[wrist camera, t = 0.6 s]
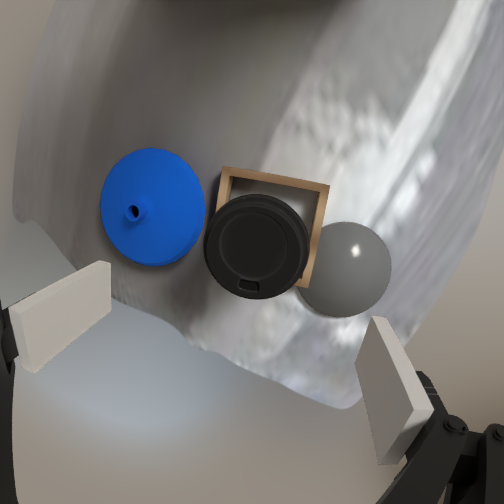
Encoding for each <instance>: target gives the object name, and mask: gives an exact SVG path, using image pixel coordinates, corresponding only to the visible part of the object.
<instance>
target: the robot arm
mask: <svg viewBox="0 0 504 504" xmlns="http://www.w3.org/2000/svg"><path fill="white" fill-rule="evenodd" d="M110 311H111V263H108V262H104V261H100V260H99V261H97V262H95V263H93V264H91V265H89V266H87V267H85V268H83V269H81V270H79V271H77V272H75V273H73V274H71V275H69V276H67V277H65V278H63V279H61V280H59V281H57V282H55V283H53V284H51V285H49V286H47V287H45V288H44V289H42V290H40V291H38V292H35V293H33V294H31V295H29V296H28V297H26V298H24V299H22V300H21V301H18V302H16V303H15V304H13V305H11V306H9V307H7V308H6V309H4V310H2V307H1V301H0V504H18V501H17V496H16V488H15V480H14V468H13V453H12V403H13V386H14V375H15V363H14V358H16V357H17V356H18V355H19V358H20V362H21V365H22V367H23V368H24V369H26V370H28V371H29V372H31V373H33V374H35V373H36V372H37V371H38V370H39V369H41V368H42V367H43V366H44V365H45V364H46V363H48V362H49V361H50V360H51V359H52V358H54V357H55V356H56V355H57V354H58V353H60V352H61V351H62V350H63V349H64V348H66V347H67V346H68V345H69V344H70V343H72V342H73V341H74V340H75V339H76V338H78V337H79V336H80V335H81V334H83V333H84V332H85V331H87V330H88V329H89V328H90V327H91V326H93V325H94V324H95V323H96V322H98V321H99V320H100V319H101V318H103V317H104V316H105V315H107V314H108V313H109V312H110ZM355 366H356V370H357V374H358V378H359V382H360V386H361V390H362V394H363V398H364V402H365V406H366V410H367V414H368V418H369V423H370V427H371V432H372V437H373V441H374V446H375V450H376V456H377V460H378V465H392V464H398V463H399V461H400V460H401V459H402V457H403V456H404V455H406V458H407V463H406V465H405V466H404V467H403V469H402V470H401V471H400V472H399V474H398V475H397V476H396V477H395V478H394V481H393V482H392V484H391V485H390V486H389V488H388V489H387V490H386V491H385V493H384V494H383V495H382V496H381V498H380V499H379V500H378V501H377V503H376V504H437V503H438V501H439V499H440V497H441V495H442V493H443V491H444V489H445V487H446V485H447V488H446V492H445V498H444V502H443V504H504V426H503V425H500V424H490V425H489V426H488V427H487V429H486V430H485V431H484V433H477V432H472V431H469V429H468V427H467V425H466V423H465V422H464V421H463V420H462V419H460V418H458V417H457V416H454V415H449V414H448V413H447V411H446V409H445V407H444V405H443V403H442V401H441V399H440V397H439V395H437V392H436V390H435V389H434V386H433V384H432V383H431V380H430V379H429V378H428V377H427V376H426V375H425V374H424V373H423V372H422V371H415V370H414V368H413V366H412V364H411V362H410V361H409V359H408V357H407V355H406V353H405V351H404V349H403V348H402V346H401V344H400V342H399V340H398V338H397V337H396V335H395V333H394V331H393V330H392V328H391V326H390V324H389V322H388V321H387V319H386V318H383V317H377V316H371V319H370V322H369V325H368V328H367V331H366V334H365V337H364V340H363V342H362V345H361V348H360V351H359V354H358V356H357V359H356V362H355Z"/></svg>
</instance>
